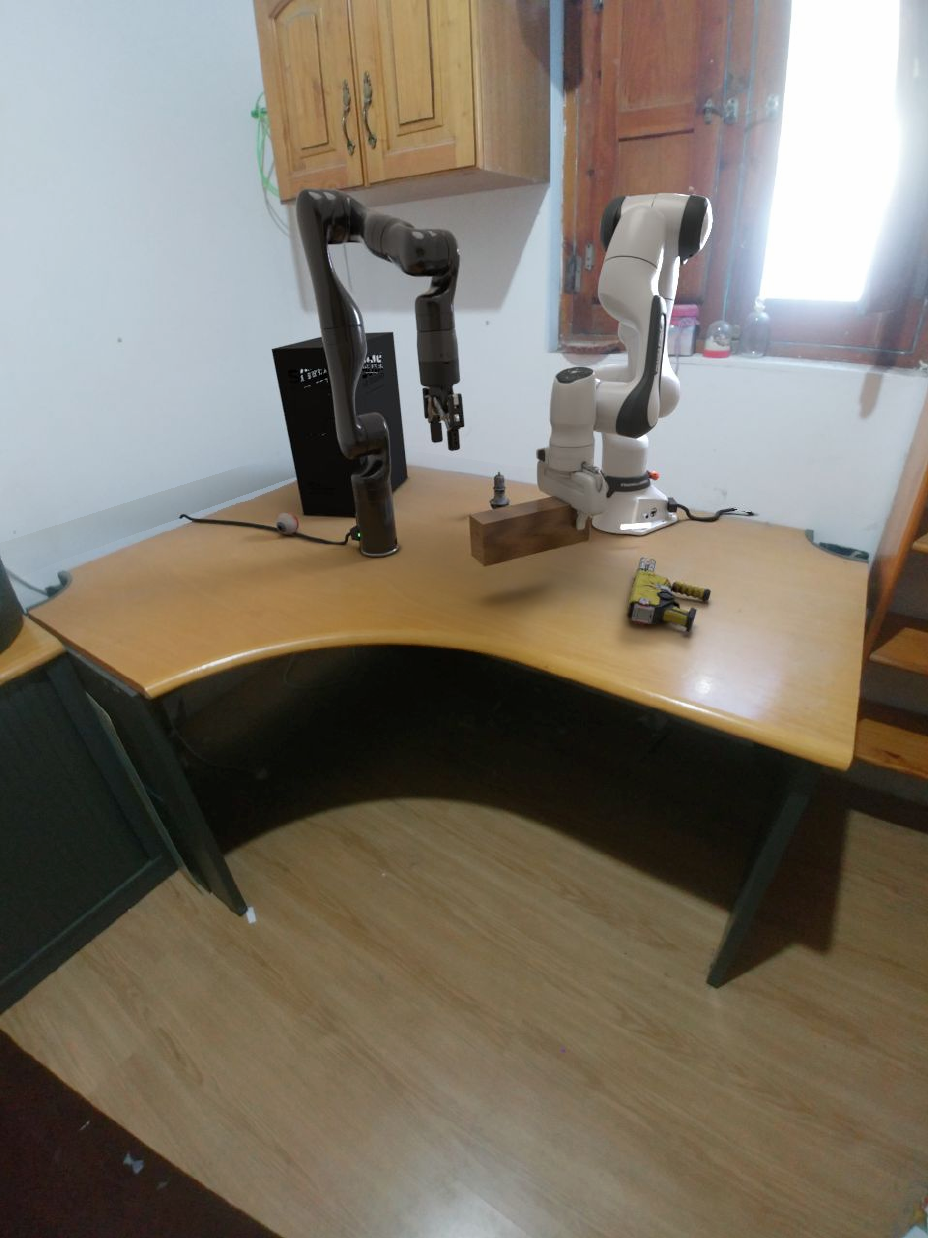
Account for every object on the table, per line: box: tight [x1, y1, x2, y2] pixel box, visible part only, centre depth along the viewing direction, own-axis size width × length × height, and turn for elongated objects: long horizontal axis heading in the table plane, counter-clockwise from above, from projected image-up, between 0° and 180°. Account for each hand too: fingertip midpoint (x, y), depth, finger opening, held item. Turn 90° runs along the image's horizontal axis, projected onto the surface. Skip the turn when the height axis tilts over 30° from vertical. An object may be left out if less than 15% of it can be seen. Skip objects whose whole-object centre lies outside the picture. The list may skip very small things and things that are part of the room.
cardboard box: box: [271, 331, 409, 517], centre depth 180 cm, size 38×20×45 cm, turn 167°
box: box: [468, 496, 591, 567], centre depth 123 cm, size 25×6×9 cm, turn 115°
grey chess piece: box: [488, 471, 511, 510], centre depth 168 cm, size 6×6×12 cm
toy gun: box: [626, 557, 712, 633], centre depth 120 cm, size 5×24×15 cm
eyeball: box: [275, 511, 300, 536], centre depth 163 cm, size 6×6×6 cm
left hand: (445, 445), depth 119 cm, fingers open, 8 cm apart
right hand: (568, 522), depth 126 cm, fingers closed on box, 6 cm apart
